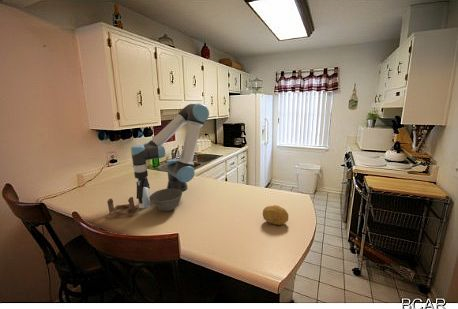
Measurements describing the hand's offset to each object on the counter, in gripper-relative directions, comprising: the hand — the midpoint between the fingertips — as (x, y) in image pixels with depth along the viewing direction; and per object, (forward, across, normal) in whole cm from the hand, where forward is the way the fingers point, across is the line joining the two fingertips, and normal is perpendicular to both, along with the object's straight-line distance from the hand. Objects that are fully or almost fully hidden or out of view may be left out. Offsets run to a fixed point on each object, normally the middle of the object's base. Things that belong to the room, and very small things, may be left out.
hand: (145, 202), depth 137 cm
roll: (+2, 0, 0) cm, 3 cm away
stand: (+2, +6, -12) cm, 14 cm away
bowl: (+3, +7, +15) cm, 17 cm away
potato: (+2, +33, +74) cm, 81 cm away
